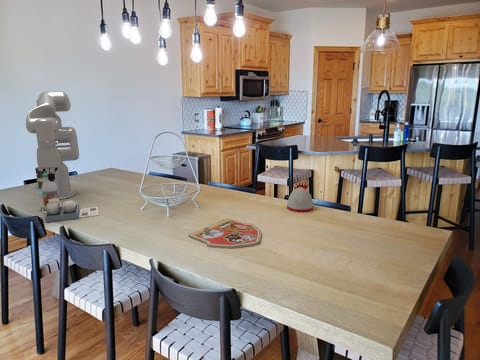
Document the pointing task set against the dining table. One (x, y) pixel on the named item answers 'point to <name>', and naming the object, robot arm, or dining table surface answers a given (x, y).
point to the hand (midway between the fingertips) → (52, 181)
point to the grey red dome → (300, 199)
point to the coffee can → (40, 177)
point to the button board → (62, 215)
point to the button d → (68, 205)
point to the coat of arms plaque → (228, 234)
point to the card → (88, 212)
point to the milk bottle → (48, 190)
